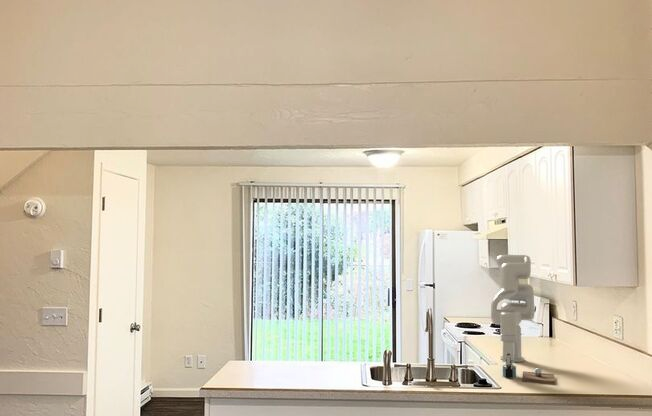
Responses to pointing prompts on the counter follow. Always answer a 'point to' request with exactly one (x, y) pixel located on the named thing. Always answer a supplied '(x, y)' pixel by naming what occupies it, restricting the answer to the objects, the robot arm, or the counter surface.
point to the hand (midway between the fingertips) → (509, 375)
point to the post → (538, 372)
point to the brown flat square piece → (538, 378)
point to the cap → (513, 371)
